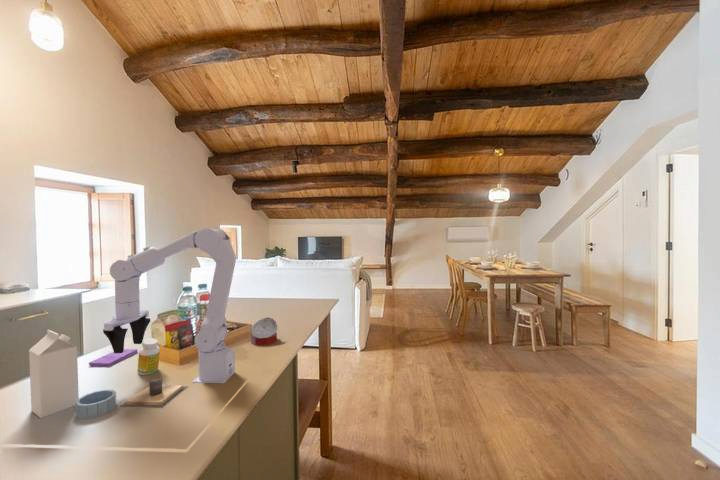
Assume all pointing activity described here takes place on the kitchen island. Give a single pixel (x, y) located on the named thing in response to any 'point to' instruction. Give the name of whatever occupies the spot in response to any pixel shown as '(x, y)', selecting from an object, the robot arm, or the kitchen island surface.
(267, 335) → the canned food
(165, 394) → the oak lid
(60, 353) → the milk carton
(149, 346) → the supplement bottle
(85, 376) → the kitchen island surface
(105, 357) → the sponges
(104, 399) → the ceramic bowl
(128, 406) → the rubber mat
